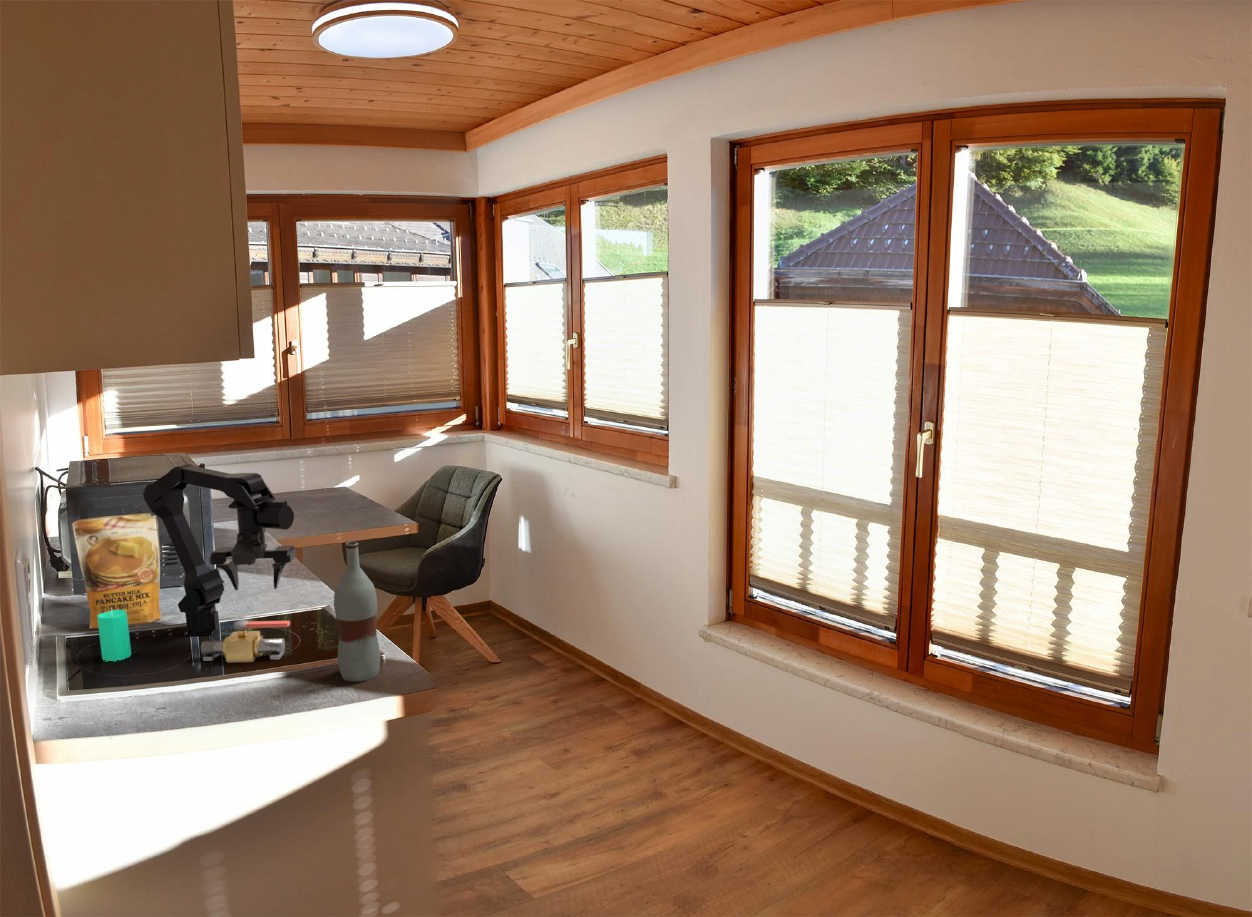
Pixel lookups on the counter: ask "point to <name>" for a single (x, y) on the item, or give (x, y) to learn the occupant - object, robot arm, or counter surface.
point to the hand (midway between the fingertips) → (256, 589)
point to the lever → (259, 624)
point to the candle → (114, 635)
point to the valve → (243, 647)
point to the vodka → (356, 621)
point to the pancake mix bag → (120, 565)
